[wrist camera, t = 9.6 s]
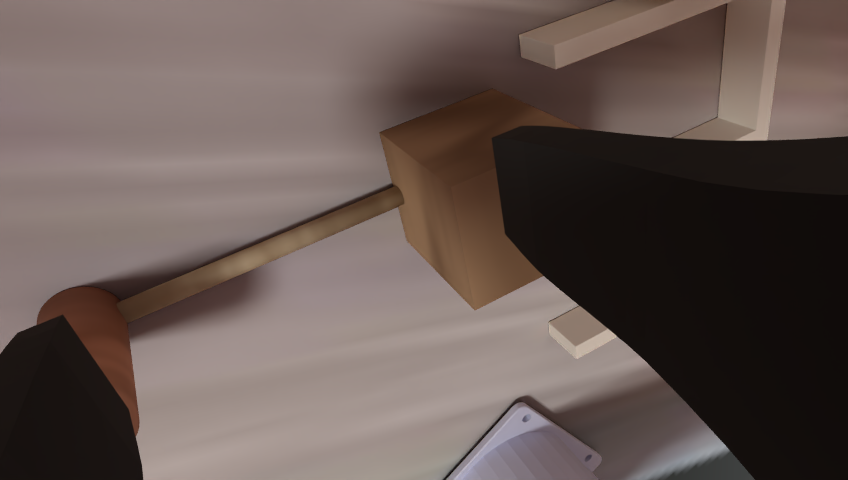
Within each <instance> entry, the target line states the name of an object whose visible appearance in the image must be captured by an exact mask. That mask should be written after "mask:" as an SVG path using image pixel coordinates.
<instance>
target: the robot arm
mask: <svg viewBox="0 0 848 480" xmlns="http://www.w3.org/2000/svg"><path fill="white" fill-rule="evenodd" d="M492 145H493V152H494V160H495V167H496V174H497V181H498V188H499V195H500V202H501V209H502V216H503V223H504V231H505V235H506V236H507V237H508V238H509V239H510V240H511V242H512V243H513V244H514V245H515V246H516V247H517V248H518V250H519V251H520V252H521V253H522V254H523V255H524V256H525V258H526V259H527V260H528V261H529V262H530V263H531V264H532V265H533V266H534V267H535V268H536V269H537V270H538V271H539V272H540V273H541V274H542V275H543V276H545V277H546V278H547V279H548V280H549V281H550V282H552V283H553V284H554V285H555V286H556V287H558V288H559V289H560V290H561V291H562V292H564V293H565V294H566V295H567V296H568V297H570V298H571V299H572V300H573V301H575V302H576V303H577V304H578V305H579V306H581V307H582V308H583V309H584V310H586V311H587V312H588V313H589V314H590V315H592V316H593V317H594V318H595V319H597V320H598V321H599V322H600V323H602V324H603V325H604V326H605V327H606V328H608V329H609V330H610V331H611V332H613V333H614V334H615V335H616V336H617V337H619V338H620V339H621V340H622V341H624V342H625V343H626V344H627V345H628V346H629V347H630V348H632V349H633V350H634V351H635V352H636V353H637V354H638V355H639V356H641V357H642V358H643V359H644V360H645V361H646V362H647V363H648V364H649V365H650V366H651V367H652V368H653V369H654V370H655V371H656V372H657V373H658V374H659V375H660V376H661V377H662V378H663V379H664V380H665V381H666V382H667V383H668V384H669V385H670V386H671V387H672V388H673V389H674V390H675V391H676V393H677V394H678V395H679V396H680V397H681V398H682V399H683V400H684V401H685V402H686V403H687V404H688V405H689V406H690V407H691V408H692V409H693V410H694V412H695V413H696V414H697V415H698V416H699V417H700V418H701V419H702V420H703V421H704V422H705V423H706V425H707V426H708V427H709V428H710V429H711V430H712V431H713V432H714V433H715V434H716V435H717V436H718V438H719V439H720V440H721V441H722V442H723V443H724V444H725V445H726V446H727V448H728V449H729V450H730V451H731V452H732V453H733V455H734V456H735V457H736V458H737V459H738V460H739V461H740V463H741V464H742V465H743V466H744V467H745V468H746V470H747V471H748V472H749V473H750V474H751V475H752V476H753V478H754V479H755V480H848V136H846V137H832V138H817V139H800V140H753V141H726V140H699V139H683V138H666V137H654V136H642V135H632V134H622V133H613V132H603V131H594V130H585V129H575V128H565V127H553V126H519V127H517V128H514V129H512V130H509V131H507V132H505V133H502V134H500V135H497V136H495V137H492ZM601 461H602V457H601V456H600V455H599V453H598V452H596V451H595V450H593V449H592V448H590V447H589V446H587V445H586V444H584V443H583V442H581V441H580V440H578V439H577V438H575V437H574V436H573V435H571V434H570V433H568V432H567V431H565V430H564V429H562V428H561V427H559V426H558V425H556V424H555V423H553V422H552V421H550V420H549V419H547V418H546V417H545V416H543V415H542V414H540V413H539V412H537V411H536V410H534V409H533V408H531V407H530V406H528V405H527V404H525V403H523V402H520V403H517V404H515V405H514V406H513V407H512V408H511V409H510V410H509V411H508V412H507V413H506V414H505V415H504V416H503V418H502V419H501V420H500V421H499V422H498V423H497V424H496V425H495V426H494V427H493V429H492V430H491V431H490V432H489V433H488V434H487V435H486V436H485V437H484V438H483V440H482V441H481V442H480V443H479V444H478V445H477V446H476V447H475V448H474V449H473V451H472V452H471V453H470V454H469V455H468V456H467V457H466V458H465V459H464V460H463V462H462V463H461V464H460V465H459V466H458V467H457V468H456V469H455V470H454V471H453V472H452V474H451V475H450V476H449V477H448V478H447V479H446V480H599V479H598V478H597V477H596V476H595V474H594V473H593V471H594V470H595V469H596V468H597V467H598V466H599V465H600V463H601ZM0 480H143V472H142V464H141V459H140V455H139V450H138V445H137V441H136V436H135V432H134V428H133V424H132V420H131V416H130V412H129V409H128V407H127V406H126V404H125V403H124V401H123V400H122V399H121V397H120V396H119V394H118V393H117V391H116V390H115V389H114V387H113V386H112V384H111V383H110V381H109V380H108V378H107V377H106V376H105V374H104V373H103V371H102V370H101V368H100V367H99V366H98V364H97V363H96V361H95V360H94V358H93V357H92V355H91V354H90V353H89V351H88V350H87V348H86V347H85V345H84V344H83V343H82V341H81V340H80V338H79V337H78V335H77V334H76V332H75V331H74V330H73V328H72V327H71V325H70V324H69V322H68V321H67V320H66V318H65V317H64V315H63V314H62V315H60V316H58V317H55V318H53V319H50V320H48V321H45V322H43V323H41V324H38V325H36V326H33V327H31V328H28V329H26V330H24V331H21V332H19V333H17V334H16V335H15V337H14V338H13V339H12V340H11V341H10V342H9V344H8V345H7V346H6V347H5V349H4V350H3V351H2V353H1V354H0Z"/></svg>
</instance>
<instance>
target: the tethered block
mask: <svg viewBox="0 0 848 480" xmlns="http://www.w3.org/2000/svg"><path fill="white" fill-rule="evenodd" d="M519 126H553V127H565V128H575V129H581V128H579V127H577V126H575V125H572V124H570V123H568V122H566V121H563V120H561V119H559V118H557V117H555V116H552V115H550V114H548V113H546V112H543V111H541V110H539V109H537V108H535V107H532V106H530V105H528V104H526V103H523V102H521V101H519V100H517V99H515V98H512V97H510V96H508V95H506V94H503V93H501V92H499V91H497V90H495V89H490V90H487V91H485V92H482V93H480V94H477V95H475V96H472V97H469V98H467V99H464V100H462V101H459V102H457V103H454V104H451V105H449V106H446V107H444V108H441V109H439V110H436V111H433V112H431V113H428V114H426V115H423V116H421V117H418V118H415V119H413V120H410V121H408V122H405V123H403V124H400V125H397V126H395V127H392V128H390V129H387V130H385V131H382V132H379V133H380V137H381V141H382V145H383V149H384V153H385V157H386V161H387V165H388V168H389V172H390V176H391V180H392V184H393V187H392V188H389V189H387V190H385V191H382V192H380V193H378V194H375V195H373V196H370V197H368V198H366V199H363V200H361V201H359V202H356V203H354V204H351V205H349V206H347V207H344V208H342V209H339V210H337V211H335V212H332V213H330V214H328V215H325V216H323V217H320V218H318V219H316V220H313V221H311V222H308V223H306V224H304V225H301V226H299V227H297V228H294V229H292V230H289V231H287V232H285V233H282V234H280V235H277V236H275V237H273V238H270V239H268V240H266V241H263V242H261V243H258V244H256V245H254V246H251V247H249V248H246V249H244V250H242V251H239V252H237V253H235V254H232V255H230V256H227V257H225V258H223V259H220V260H218V261H215V262H213V263H211V264H208V265H206V266H204V267H201V268H199V269H196V270H194V271H192V272H189V273H187V274H185V275H182V276H180V277H177V278H175V279H173V280H170V281H168V282H165V283H163V284H161V285H158V286H156V287H154V288H151V289H149V290H146V291H144V292H142V293H139V294H137V295H134V296H132V297H130V298H127V299H125V300H123V301H120V300H119V299H118V298H117V297H116V296H115V295H113V294H112V293H110V292H108V291H106V290H103V289H100V288H95V287H75V288H71V289H67V290H64V291H62V292H60V293H57V294H56V295H54V296H53V297H51V298H50V299H49V300H48V301H47V302H46V303H45V304H44V305H43V306H42V308H41V310H40V312H39V314H38V318H37V325H38V324H41V323H43V322H45V321H48V320H50V319H53V318H55V317H58V316H60V315H62V314H63V315H64V317H65V318H66V320H67V321H68V322H69V324H70V325H71V327H72V328H73V330H74V331H75V332H76V334H77V335H78V337H79V338H80V340H81V341H82V343H83V344H84V345H85V347H86V348H87V350H88V351H89V353H90V354H91V355H92V357H93V358H94V360H95V361H96V363H97V364H98V366H99V367H100V368H101V370H102V371H103V373H104V374H105V376H106V377H107V378H108V380H109V381H110V383H111V384H112V386H113V387H114V389H115V390H116V391H117V393H118V394H119V396H120V397H121V399H122V400H123V401H124V403H125V404H126V406H127V407H128V409H129V412H130V416H131V420H132V424H133V428H134V432H135V436H136V435H137V433H138V429H139V414H138V406H137V397H136V389H135V381H134V373H133V365H132V357H131V349H130V341H129V333H128V325H127V323H129V322H132V321H134V320H136V319H139V318H141V317H143V316H146V315H148V314H150V313H153V312H155V311H157V310H160V309H162V308H164V307H166V306H169V305H171V304H173V303H176V302H178V301H180V300H183V299H185V298H187V297H190V296H192V295H194V294H197V293H199V292H201V291H204V290H206V289H208V288H211V287H213V286H215V285H218V284H220V283H222V282H225V281H227V280H229V279H231V278H234V277H236V276H238V275H241V274H243V273H245V272H248V271H250V270H252V269H255V268H257V267H259V266H262V265H264V264H266V263H269V262H271V261H273V260H276V259H278V258H280V257H283V256H285V255H287V254H290V253H292V252H294V251H296V250H299V249H301V248H303V247H306V246H308V245H310V244H313V243H315V242H317V241H320V240H322V239H324V238H327V237H329V236H331V235H334V234H336V233H338V232H341V231H343V230H345V229H348V228H350V227H352V226H355V225H357V224H359V223H362V222H364V221H366V220H368V219H371V218H373V217H375V216H378V215H380V214H382V213H385V212H387V211H389V210H392V209H394V208H396V207H398V208H399V212H400V216H401V220H402V223H403V227H404V231H405V235H406V239H407V241H408V243H409V244H410V245H411V246H412V247H413V248H414V249H415V250H416V251H417V252H418V253H419V254H420V255H421V256H422V257H423V258H424V259H425V260H426V261H427V262H428V263H429V264H430V265H431V266H432V267H433V268H434V269H435V270H436V271H437V272H438V273H439V274H440V275H441V276H442V277H443V278H444V279H445V280H446V281H447V282H448V284H449V285H450V286H451V287H452V288H453V289H454V290H455V291H456V292H457V293H458V294H459V295H460V296H461V297H462V298H463V299H464V300H465V301H466V302H467V303H468V304H469V305H470V306H471V307H472V308H473V309H474V310H477V309H479V308H481V307H483V306H485V305H487V304H489V303H491V302H493V301H494V300H496V299H498V298H500V297H502V296H504V295H506V294H508V293H510V292H512V291H514V290H516V289H518V288H520V287H522V286H524V285H526V284H528V283H530V282H532V281H534V280H536V279H538V278H540V277H542V276H543V275H542V274H541V273H540V272H539V271H538V270H537V269H536V268H535V267H534V266H533V265H532V264H531V263H530V262H529V261H528V260H527V259H526V258H525V256H524V255H523V254H522V253H521V252H520V251H519V250H518V248H517V247H516V246H515V245H514V244H513V243H512V242H511V240H510V239H509V238H508V237H507V236H506V235H505V231H504V223H503V216H502V209H501V202H500V195H499V188H498V181H497V174H496V167H495V160H494V152H493V145H492V137H495V136H497V135H500V134H502V133H505V132H507V131H509V130H512V129H514V128H517V127H519Z"/></svg>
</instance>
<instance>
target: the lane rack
mask: <svg viewBox="0 0 848 480" xmlns="http://www.w3.org/2000/svg"><path fill="white" fill-rule="evenodd" d="M726 3H727V14H726V25H725V37H724V49H723V61H722V73H721V84H720V96H719V108H718V118H715V119H713V120H711V121H709V122H707V123H704V124H702V125H700V126H698V127H696V128H693V129H691V130H689V131H687V132H685V133H682V134H680V135H678V136H676V137H674V138H683V139H699V140H726V141H753V140H767V138H768V130H769V123H770V116H771V108H772V101H773V94H774V86H775V79H776V72H777V64H778V57H779V50H780V42H781V35H782V28H783V20H784V13H785V6H786V0H614V1H611V2H608V3H605V4H603V5H600V6H597V7H594V8H592V9H589V10H586V11H583V12H580V13H578V14H575V15H572V16H569V17H567V18H564V19H561V20H558V21H556V22H553V23H550V24H547V25H545V26H542V27H539V28H536V29H533V30H531V31H528V32H525V33H522V34H520V35H519V40H520V50H521V57H522V58H525V59H528V60H531V61H533V62H536V63H539V64H542V65H545V66H547V67H550V68H553V69H558V68H561V67H563V66H566V65H569V64H571V63H574V62H576V61H579V60H581V59H584V58H587V57H589V56H592V55H594V54H597V53H599V52H602V51H605V50H607V49H610V48H612V47H615V46H617V45H620V44H623V43H625V42H628V41H630V40H633V39H635V38H638V37H641V36H643V35H646V34H648V33H651V32H654V31H656V30H659V29H661V28H664V27H666V26H669V25H672V24H674V23H677V22H679V21H682V20H684V19H687V18H690V17H692V16H695V15H697V14H700V13H702V12H705V11H708V10H710V9H713V8H715V7H718V6H720V5H723V4H726ZM548 323H549V332H550V335H551V336H552V337H553V338H554V339H555V340H556V341H557V342H558V343H559V344H560V345H561V346H563V347H564V348H565V349H566V350H567V351H568V352H569V353H570V354H571V355H572V356H573V357H575V358H576V359H578V358H580V357H581V356H583V355H585V354H587V353H589V352H591V351H592V350H594V349H596V348H598V347H600V346H601V345H603V344H605V343H607V342H609V341H610V340H612V339H614V338H616V337H617V336H616V335H615V334H614V333H613V332H611V331H610V330H609V329H608V328H606V327H605V326H604V325H603V324H602V323H600V322H599V321H598V320H597V319H595V318H594V317H593V316H592V315H590V314H589V313H588V312H587V311H586V310H584V309H583V308H582V307H581V306H579V307H577V308H575V309H573V310H571V311H569V312H567V313H565V314H564V315H562V316H560V317H558V318H556V319H554V320H552V321H550V322H548Z"/></svg>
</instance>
